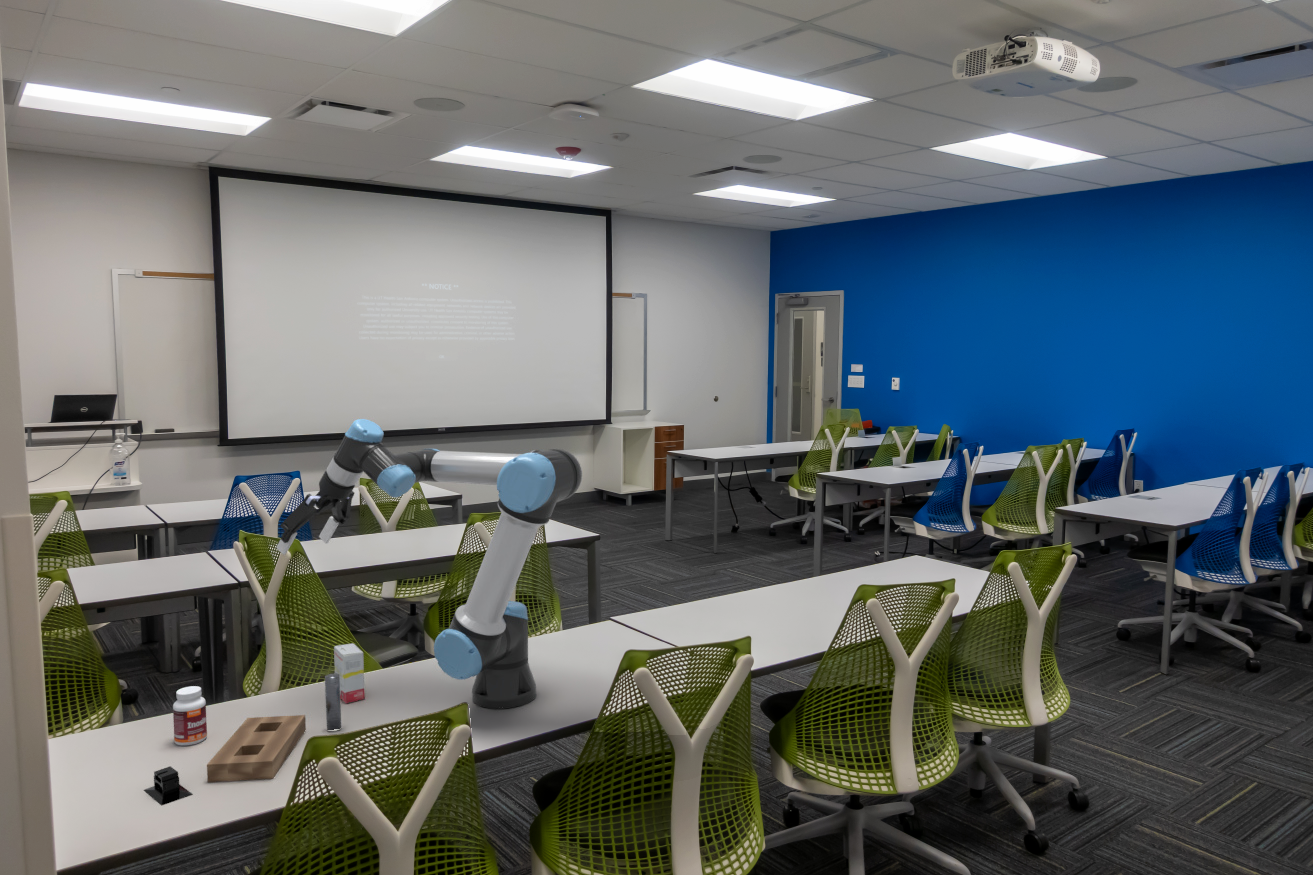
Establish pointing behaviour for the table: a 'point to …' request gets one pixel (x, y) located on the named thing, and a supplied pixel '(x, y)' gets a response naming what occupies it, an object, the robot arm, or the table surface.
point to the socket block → (257, 749)
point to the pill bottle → (189, 716)
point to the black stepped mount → (167, 787)
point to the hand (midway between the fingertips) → (302, 545)
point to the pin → (333, 701)
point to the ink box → (350, 672)
